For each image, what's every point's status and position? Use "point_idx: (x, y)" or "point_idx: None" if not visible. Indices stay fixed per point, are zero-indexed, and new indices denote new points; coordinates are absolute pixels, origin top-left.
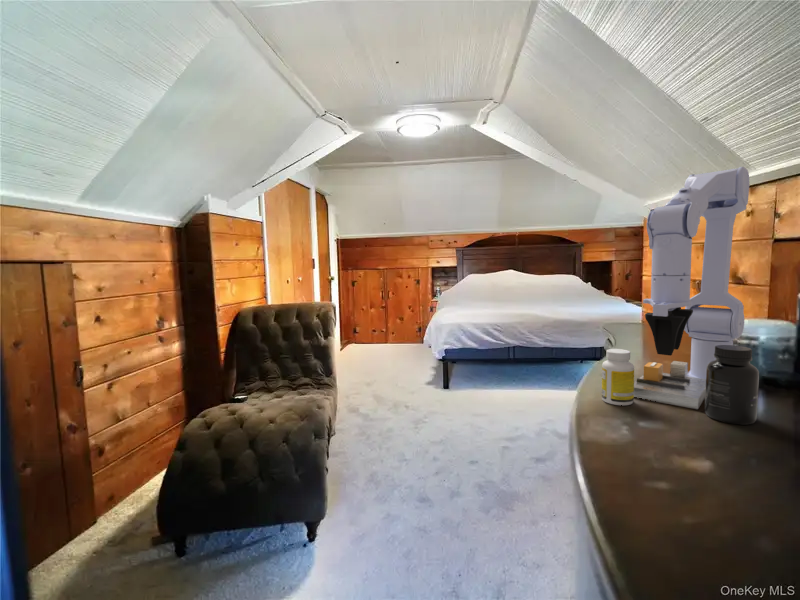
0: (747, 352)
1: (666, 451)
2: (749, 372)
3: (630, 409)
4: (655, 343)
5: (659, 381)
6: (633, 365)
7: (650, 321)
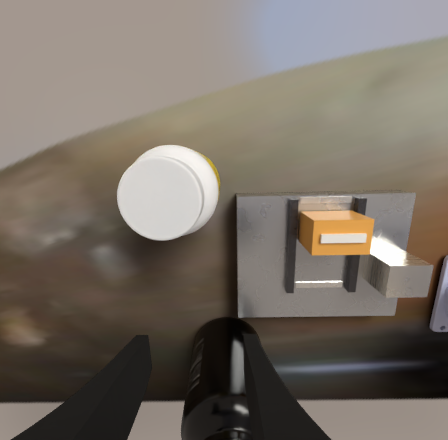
0: None
1: (27, 300)
2: None
3: None
4: (112, 361)
5: None
6: (186, 234)
7: None
